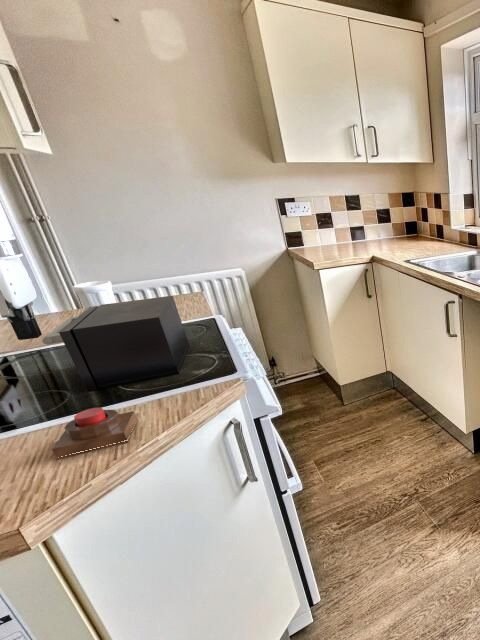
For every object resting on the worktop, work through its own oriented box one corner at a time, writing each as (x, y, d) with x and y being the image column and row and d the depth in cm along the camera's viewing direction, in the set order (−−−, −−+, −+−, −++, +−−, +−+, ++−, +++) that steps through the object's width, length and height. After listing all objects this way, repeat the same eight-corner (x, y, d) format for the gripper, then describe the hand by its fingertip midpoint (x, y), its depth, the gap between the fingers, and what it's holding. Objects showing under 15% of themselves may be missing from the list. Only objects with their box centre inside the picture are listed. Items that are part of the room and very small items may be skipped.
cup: (134, 324, 130) (117, 279, 124) (118, 334, 122) (98, 286, 117) (104, 327, 128) (85, 281, 123) (85, 336, 121) (64, 288, 115)
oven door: (63, 397, 88) (32, 336, 82) (92, 362, 104) (68, 309, 98) (97, 390, 90) (69, 330, 85) (120, 357, 106) (98, 305, 101)
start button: (75, 430, 70) (70, 421, 69) (82, 419, 73) (77, 411, 72) (103, 423, 71) (99, 414, 71) (109, 413, 74) (105, 405, 74)
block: (57, 460, 68) (46, 439, 67) (74, 435, 75) (64, 416, 73) (128, 442, 72) (119, 423, 71) (138, 420, 79) (130, 402, 77)
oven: (99, 390, 90) (72, 329, 85) (122, 357, 106) (100, 304, 101) (179, 374, 97) (158, 317, 91) (189, 346, 113) (172, 295, 107)
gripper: (-17, 247, 87) (21, 330, 94) (-60, 258, 75) (-13, 353, 82) (34, 244, 90) (67, 324, 97) (0, 255, 78) (40, 346, 85)
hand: (30, 337), depth 89 cm, fingers closed
